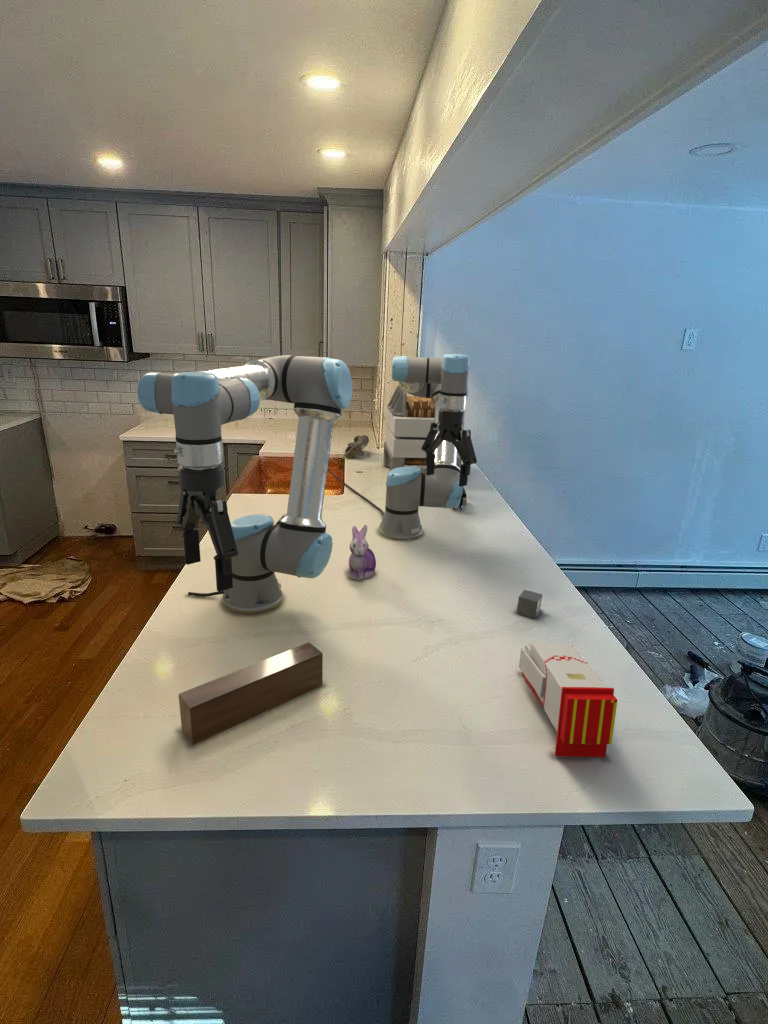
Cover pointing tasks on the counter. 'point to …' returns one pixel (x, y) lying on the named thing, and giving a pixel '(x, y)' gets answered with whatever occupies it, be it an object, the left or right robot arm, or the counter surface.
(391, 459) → the grey wooden crate
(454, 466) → the right robot arm
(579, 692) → the toy
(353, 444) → the fossil
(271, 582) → the left robot arm
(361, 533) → the figurine
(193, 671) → the counter surface
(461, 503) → the figurine character
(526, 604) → the slate cube
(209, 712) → the walnut bar
